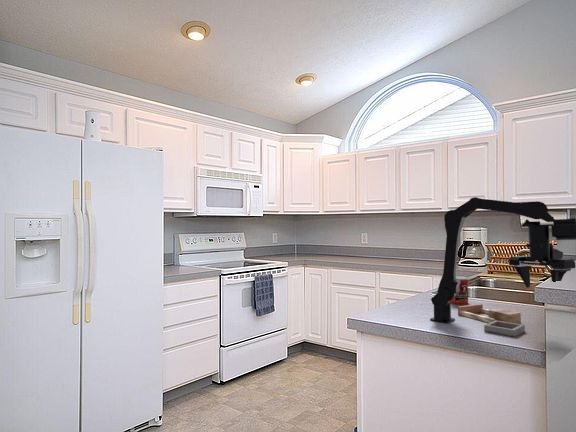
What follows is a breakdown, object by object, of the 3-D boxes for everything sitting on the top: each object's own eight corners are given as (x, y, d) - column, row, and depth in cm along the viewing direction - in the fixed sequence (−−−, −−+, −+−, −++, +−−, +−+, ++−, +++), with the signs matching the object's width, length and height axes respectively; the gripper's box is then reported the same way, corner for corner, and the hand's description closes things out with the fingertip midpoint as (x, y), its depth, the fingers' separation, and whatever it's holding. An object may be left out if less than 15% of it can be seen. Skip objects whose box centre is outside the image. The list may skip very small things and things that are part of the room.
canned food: (457, 305, 173) (456, 279, 173) (445, 301, 181) (444, 276, 181) (472, 303, 175) (471, 278, 175) (460, 300, 183) (459, 275, 183)
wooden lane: (516, 320, 146) (516, 311, 146) (492, 323, 142) (492, 315, 142) (480, 311, 161) (480, 303, 161) (457, 314, 156) (457, 306, 157)
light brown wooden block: (521, 324, 142) (520, 312, 142) (509, 326, 139) (508, 314, 139) (500, 319, 149) (500, 308, 149) (488, 321, 146) (488, 310, 147)
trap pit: (514, 336, 126) (514, 330, 126) (484, 331, 133) (484, 325, 133) (524, 331, 132) (524, 324, 132) (495, 326, 139) (495, 320, 139)
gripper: (585, 239, 127) (588, 290, 126) (529, 238, 144) (531, 283, 144) (561, 241, 122) (564, 294, 122) (506, 240, 140) (508, 286, 139)
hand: (541, 289), depth 132 cm, fingers open, 9 cm apart
